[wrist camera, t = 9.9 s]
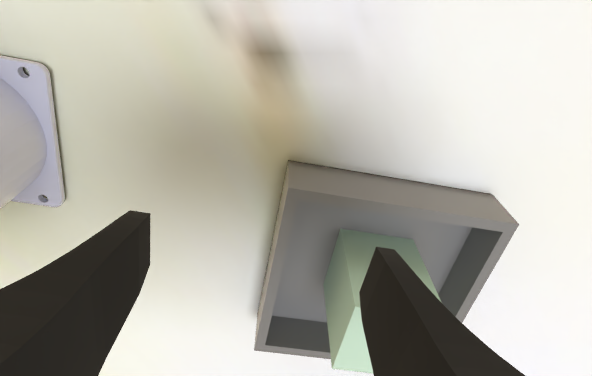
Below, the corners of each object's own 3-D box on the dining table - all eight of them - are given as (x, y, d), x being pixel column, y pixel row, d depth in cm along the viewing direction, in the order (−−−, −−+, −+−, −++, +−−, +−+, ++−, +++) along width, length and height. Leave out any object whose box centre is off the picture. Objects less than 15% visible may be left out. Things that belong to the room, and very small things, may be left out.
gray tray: (257, 313, 27) (254, 350, 24) (288, 160, 21) (288, 187, 19) (420, 333, 28) (434, 370, 26) (492, 194, 22) (518, 224, 20)
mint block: (323, 284, 25) (331, 368, 20) (340, 228, 23) (355, 306, 17) (390, 293, 25) (415, 378, 20) (413, 239, 23) (448, 318, 18)
